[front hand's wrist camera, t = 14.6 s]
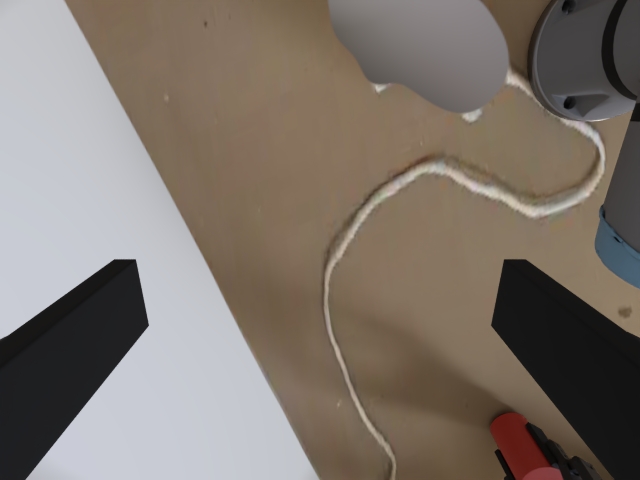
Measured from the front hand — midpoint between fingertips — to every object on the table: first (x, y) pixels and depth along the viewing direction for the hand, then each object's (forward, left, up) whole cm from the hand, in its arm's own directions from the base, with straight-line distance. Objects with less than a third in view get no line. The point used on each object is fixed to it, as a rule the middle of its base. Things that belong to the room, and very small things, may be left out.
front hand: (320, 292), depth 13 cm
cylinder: (+48, +19, -32) cm, 61 cm away
